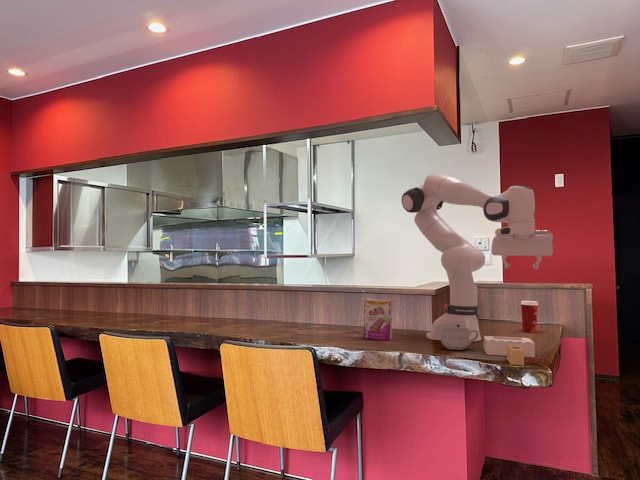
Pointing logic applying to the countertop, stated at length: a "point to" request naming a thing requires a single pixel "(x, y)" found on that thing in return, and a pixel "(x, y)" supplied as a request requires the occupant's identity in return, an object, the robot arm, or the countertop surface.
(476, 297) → the robot arm
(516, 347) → the stub
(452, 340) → the teacup
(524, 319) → the paper cup
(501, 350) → the ticket block
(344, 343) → the countertop surface
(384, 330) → the candy bar box
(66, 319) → the countertop surface
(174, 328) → the countertop surface
